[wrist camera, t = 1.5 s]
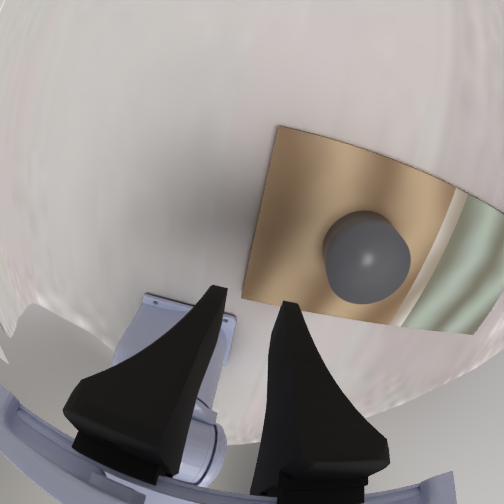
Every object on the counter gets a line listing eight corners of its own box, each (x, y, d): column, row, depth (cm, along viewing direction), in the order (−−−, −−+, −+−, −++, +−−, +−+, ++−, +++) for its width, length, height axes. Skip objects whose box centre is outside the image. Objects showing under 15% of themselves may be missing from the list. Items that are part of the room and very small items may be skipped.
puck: (312, 272, 21) (315, 296, 18) (336, 200, 18) (345, 217, 15) (378, 286, 21) (388, 309, 18) (407, 222, 18) (424, 240, 15)
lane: (242, 290, 24) (240, 298, 23) (278, 125, 17) (278, 126, 16) (470, 329, 24) (473, 334, 23) (526, 229, 17) (532, 233, 16)
